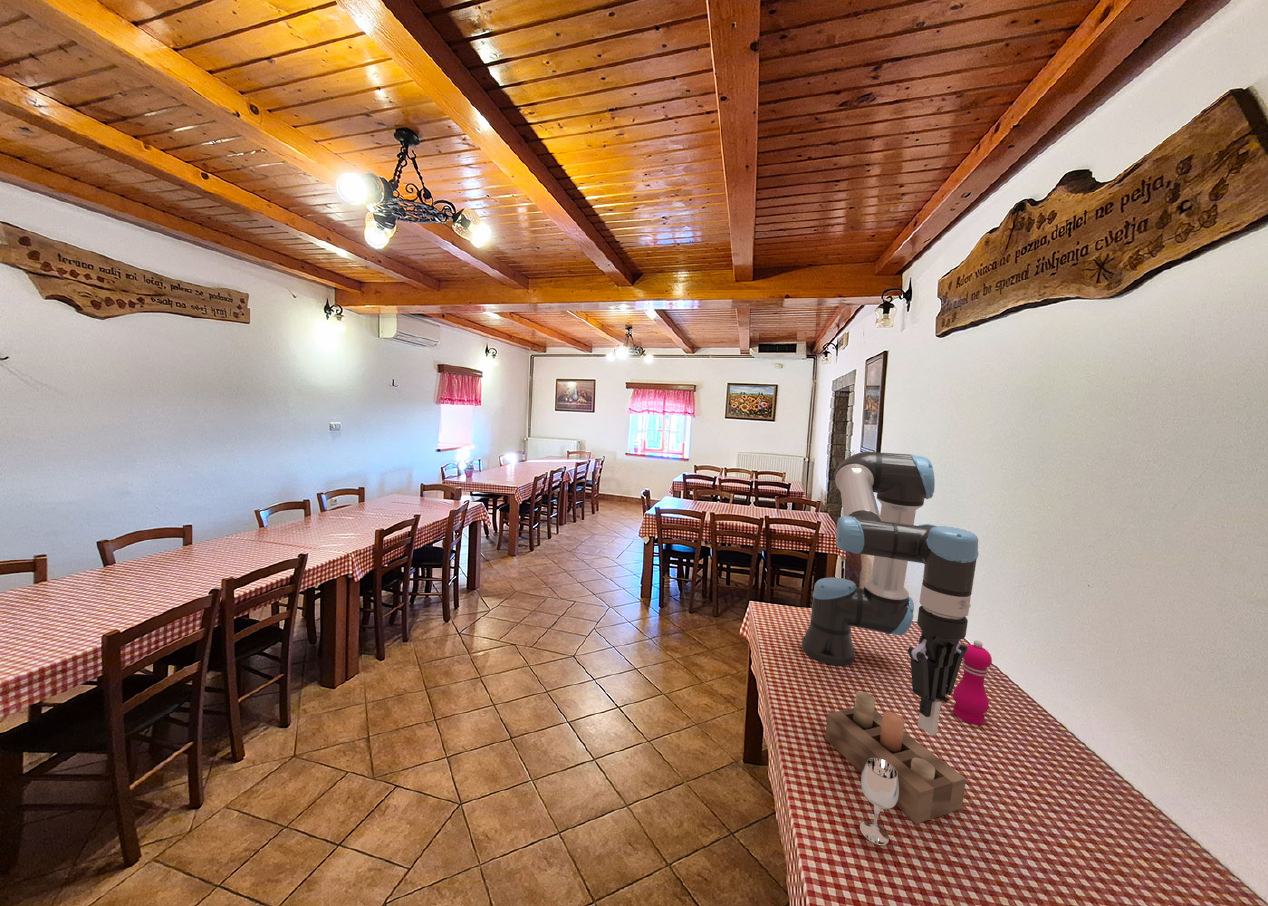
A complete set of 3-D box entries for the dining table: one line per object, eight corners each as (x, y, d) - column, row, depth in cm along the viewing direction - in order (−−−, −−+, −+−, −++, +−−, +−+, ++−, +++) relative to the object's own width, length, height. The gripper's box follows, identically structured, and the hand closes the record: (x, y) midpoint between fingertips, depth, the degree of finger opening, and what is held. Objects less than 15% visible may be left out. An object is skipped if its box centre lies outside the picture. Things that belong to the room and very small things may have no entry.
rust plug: (875, 740, 93) (878, 713, 92) (889, 737, 94) (892, 710, 93) (891, 753, 89) (895, 725, 89) (905, 750, 90) (908, 722, 90)
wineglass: (848, 818, 80) (856, 755, 79) (879, 818, 80) (886, 755, 79) (868, 849, 74) (876, 781, 73) (900, 849, 74) (909, 781, 74)
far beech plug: (849, 718, 99) (851, 692, 99) (861, 715, 100) (864, 690, 100) (863, 730, 96) (866, 703, 95) (876, 727, 97) (879, 700, 96)
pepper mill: (993, 729, 108) (1004, 650, 106) (959, 723, 109) (970, 645, 108) (976, 710, 115) (986, 636, 113) (945, 705, 116) (955, 631, 115)
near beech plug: (903, 788, 86) (907, 759, 86) (917, 784, 88) (921, 756, 87) (921, 805, 83) (925, 774, 82) (936, 800, 84) (940, 770, 84)
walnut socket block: (824, 738, 100) (827, 713, 100) (865, 729, 104) (868, 705, 104) (916, 824, 79) (920, 792, 79) (961, 808, 84) (965, 778, 83)
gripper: (938, 623, 77) (921, 751, 79) (988, 616, 81) (970, 737, 83) (899, 605, 84) (884, 722, 86) (947, 599, 88) (932, 711, 90)
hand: (927, 729), depth 85 cm, fingers closed
